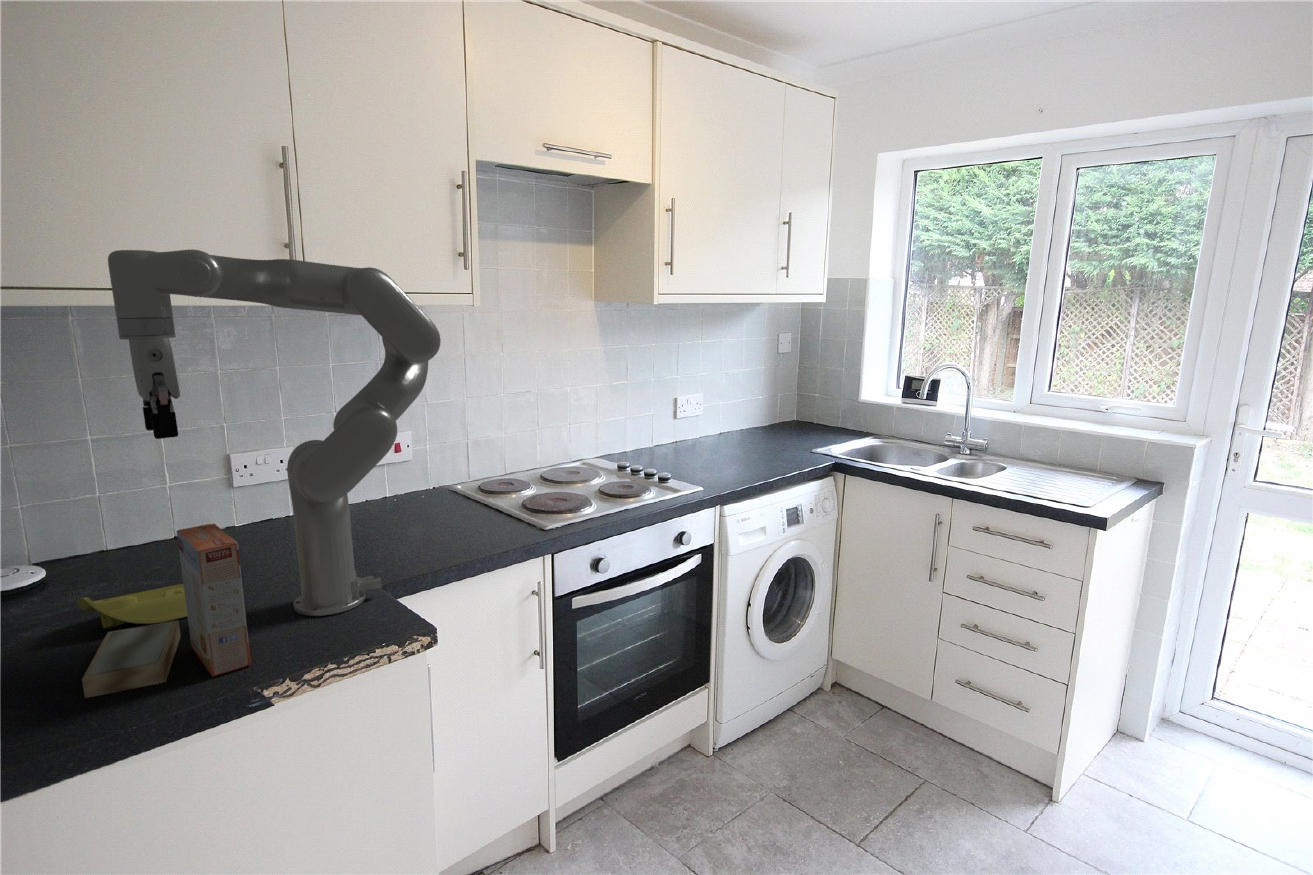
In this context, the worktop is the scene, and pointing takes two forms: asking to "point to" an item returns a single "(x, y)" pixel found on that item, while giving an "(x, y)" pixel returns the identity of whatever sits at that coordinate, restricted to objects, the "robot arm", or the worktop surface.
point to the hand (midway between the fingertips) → (161, 433)
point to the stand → (132, 659)
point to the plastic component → (140, 607)
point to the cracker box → (214, 598)
